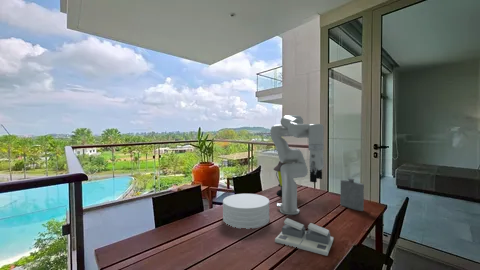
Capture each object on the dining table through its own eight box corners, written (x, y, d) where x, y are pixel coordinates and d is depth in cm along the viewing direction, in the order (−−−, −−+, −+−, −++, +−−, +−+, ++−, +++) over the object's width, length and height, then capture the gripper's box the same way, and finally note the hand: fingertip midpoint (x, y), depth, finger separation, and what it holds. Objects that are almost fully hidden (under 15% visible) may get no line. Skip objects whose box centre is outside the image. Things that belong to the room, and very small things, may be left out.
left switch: (283, 223, 117) (284, 220, 117) (286, 220, 121) (287, 217, 120) (301, 230, 112) (301, 228, 112) (303, 227, 116) (304, 224, 116)
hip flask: (364, 210, 152) (364, 180, 151) (361, 211, 150) (361, 181, 149) (342, 203, 165) (342, 176, 165) (338, 205, 163) (338, 176, 162)
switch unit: (274, 242, 111) (274, 232, 111) (286, 229, 125) (286, 221, 125) (327, 255, 99) (327, 245, 99) (333, 240, 113) (333, 231, 113)
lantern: (291, 190, 202) (291, 155, 201) (305, 196, 184) (305, 158, 183) (266, 193, 193) (266, 157, 192) (278, 199, 175) (278, 160, 174)
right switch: (307, 228, 111) (308, 225, 111) (309, 224, 114) (310, 222, 114) (326, 236, 106) (327, 234, 106) (328, 232, 110) (329, 230, 110)
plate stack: (213, 223, 134) (213, 203, 134) (236, 208, 159) (236, 191, 159) (258, 233, 121) (258, 211, 121) (275, 215, 146) (275, 197, 145)
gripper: (318, 149, 111) (318, 184, 111) (327, 146, 125) (327, 178, 125) (303, 148, 115) (303, 182, 116) (313, 146, 129) (314, 176, 130)
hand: (316, 180), depth 120 cm, fingers open, 9 cm apart
